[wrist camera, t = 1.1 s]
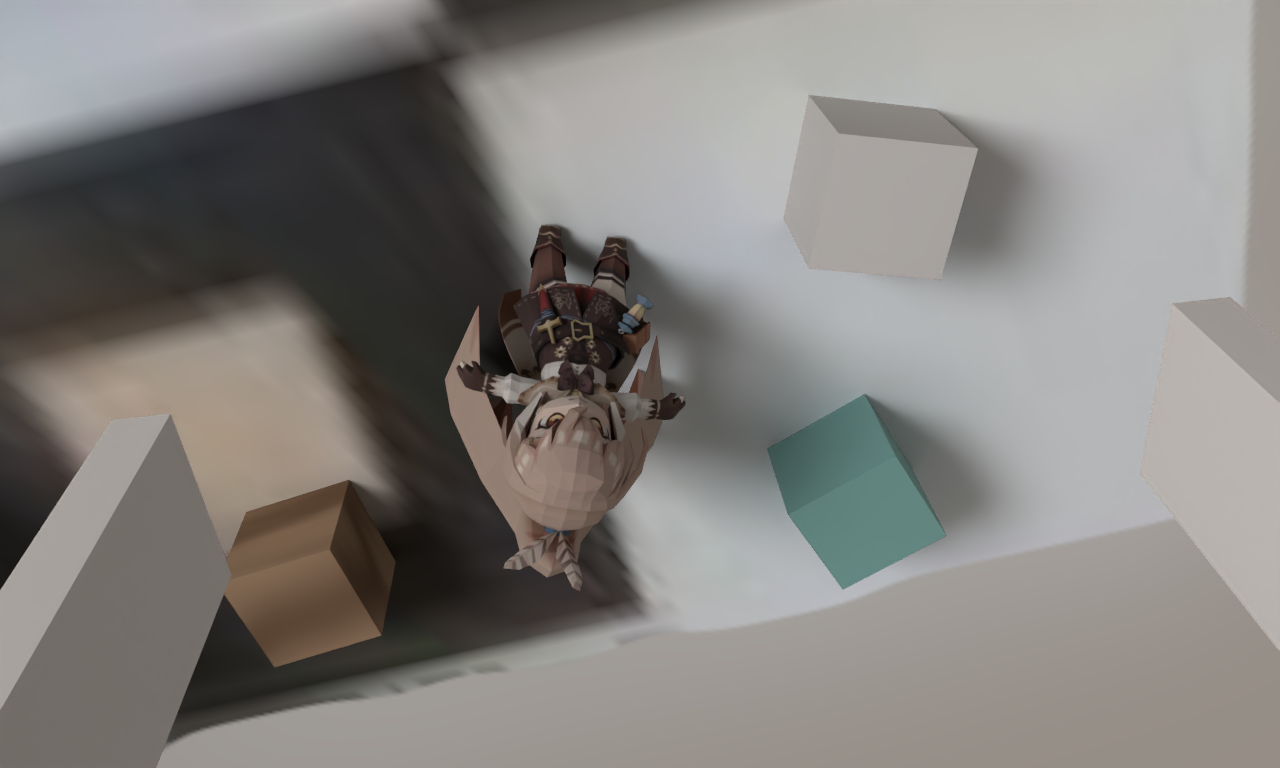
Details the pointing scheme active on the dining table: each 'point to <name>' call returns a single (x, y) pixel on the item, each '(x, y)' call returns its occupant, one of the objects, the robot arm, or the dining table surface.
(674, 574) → the dining table surface
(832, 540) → the teal cube
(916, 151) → the grey cube
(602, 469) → the toy
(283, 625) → the walnut cube
